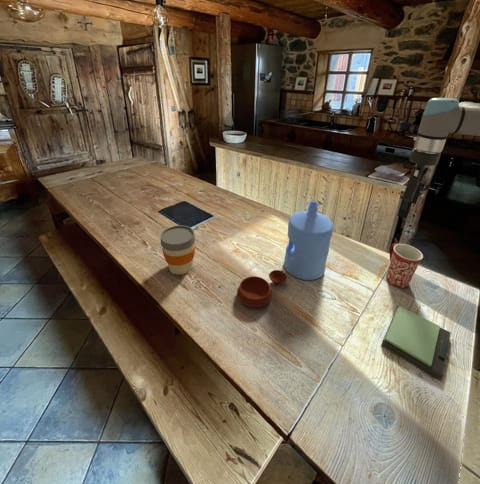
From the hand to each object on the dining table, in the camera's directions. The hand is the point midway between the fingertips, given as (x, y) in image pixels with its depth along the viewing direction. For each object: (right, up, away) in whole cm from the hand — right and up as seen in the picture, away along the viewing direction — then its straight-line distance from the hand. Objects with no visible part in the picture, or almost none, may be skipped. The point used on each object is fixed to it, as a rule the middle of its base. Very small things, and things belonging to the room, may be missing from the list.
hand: (407, 209), depth 92 cm
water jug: (-33, -23, +12) cm, 42 cm away
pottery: (-50, -29, 0) cm, 58 cm away
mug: (0, -26, +7) cm, 27 cm away
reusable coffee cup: (-81, -23, +11) cm, 85 cm away
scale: (-7, -37, -16) cm, 41 cm away
